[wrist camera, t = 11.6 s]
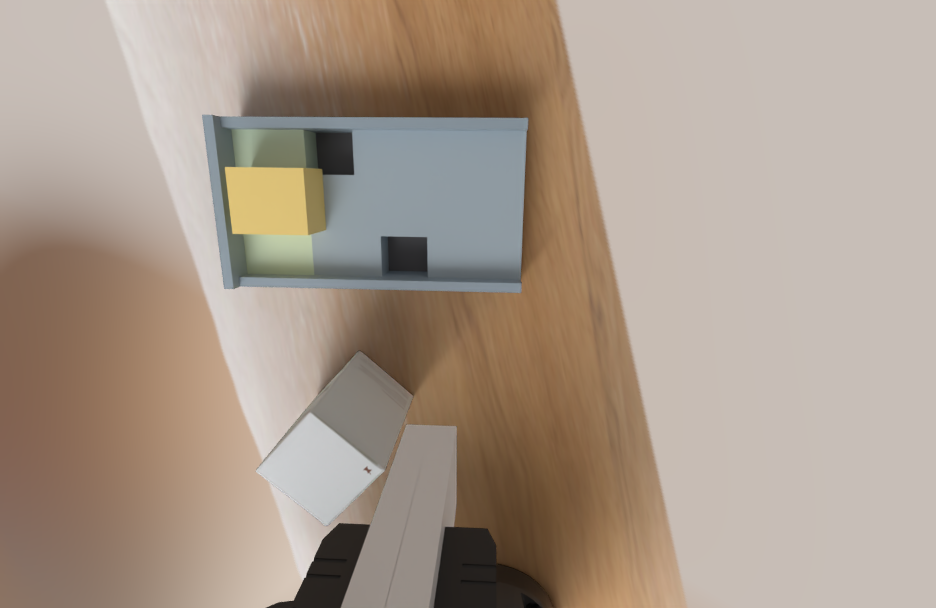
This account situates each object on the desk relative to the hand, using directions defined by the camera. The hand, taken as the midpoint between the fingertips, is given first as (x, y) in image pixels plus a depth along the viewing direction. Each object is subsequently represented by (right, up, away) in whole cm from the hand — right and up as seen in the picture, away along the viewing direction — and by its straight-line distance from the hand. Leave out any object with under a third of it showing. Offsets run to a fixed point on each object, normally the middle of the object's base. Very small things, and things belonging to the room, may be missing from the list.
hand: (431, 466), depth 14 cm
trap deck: (-6, +14, +28) cm, 32 cm away
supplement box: (-9, -4, +33) cm, 35 cm away
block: (-14, +14, +26) cm, 32 cm away
